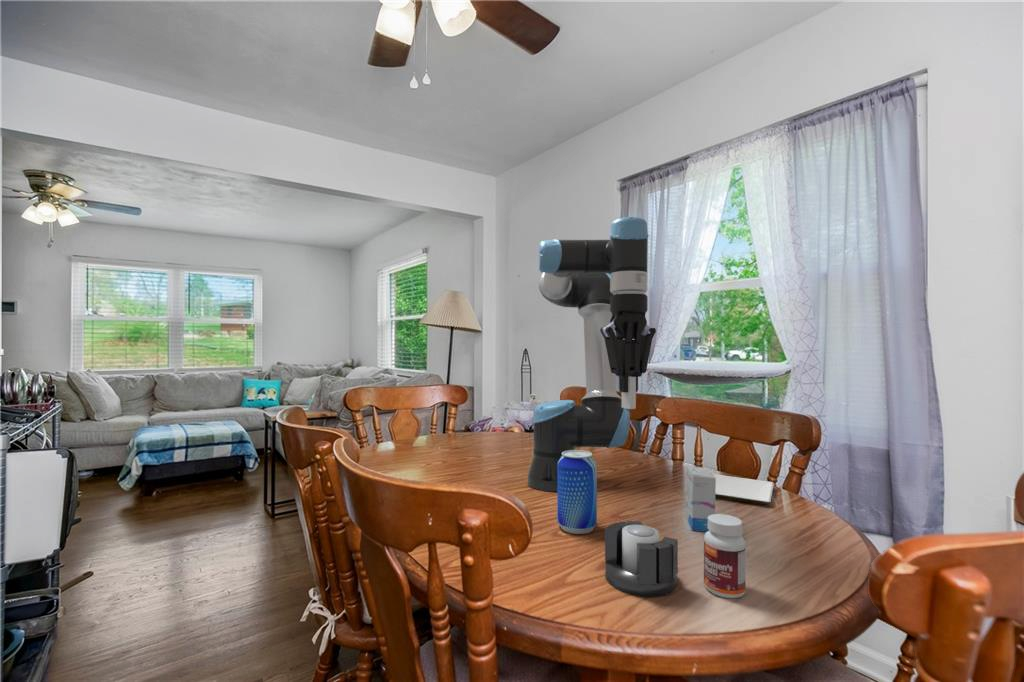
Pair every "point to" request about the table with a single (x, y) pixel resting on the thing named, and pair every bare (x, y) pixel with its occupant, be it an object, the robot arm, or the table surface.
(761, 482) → the plate
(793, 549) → the table surface
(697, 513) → the ink box
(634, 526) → the cap
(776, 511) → the table surface
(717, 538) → the pill bottle
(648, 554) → the dark faceted crown
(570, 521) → the beer can
